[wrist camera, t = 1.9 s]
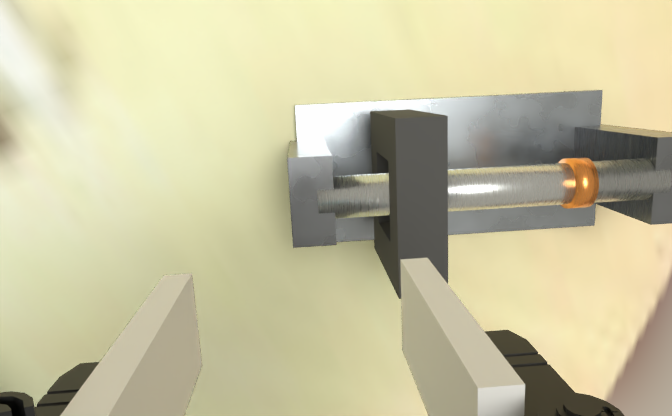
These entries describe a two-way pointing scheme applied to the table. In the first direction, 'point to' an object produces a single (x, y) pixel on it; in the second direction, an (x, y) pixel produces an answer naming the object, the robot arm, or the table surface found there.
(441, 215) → the ring
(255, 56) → the table surface
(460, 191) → the pipe rig
